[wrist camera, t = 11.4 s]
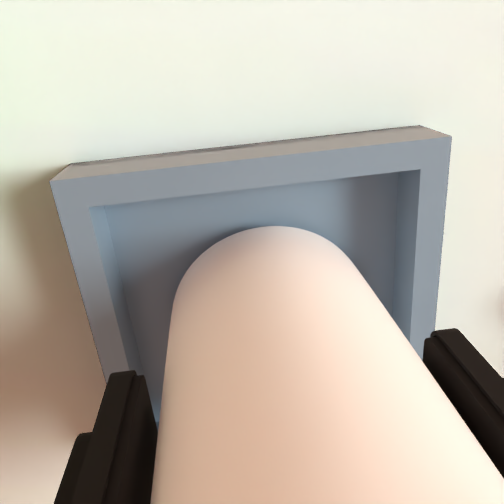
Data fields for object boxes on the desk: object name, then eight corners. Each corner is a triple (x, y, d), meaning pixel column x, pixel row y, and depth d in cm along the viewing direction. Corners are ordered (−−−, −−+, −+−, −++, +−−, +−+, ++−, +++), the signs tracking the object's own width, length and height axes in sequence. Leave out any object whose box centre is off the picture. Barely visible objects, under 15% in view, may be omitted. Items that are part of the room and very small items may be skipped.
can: (212, 405, 17) (234, 1050, 6) (139, 260, 14) (-58, 966, 3) (378, 350, 17) (709, 923, 6) (336, 191, 14) (821, 718, 3)
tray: (403, 394, 18) (425, 432, 16) (139, 430, 18) (131, 474, 16) (419, 125, 14) (451, 136, 12) (70, 163, 13) (49, 181, 12)
